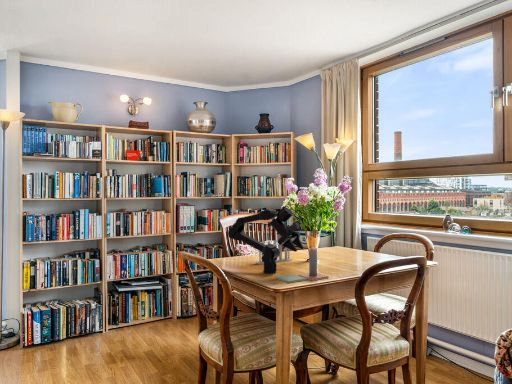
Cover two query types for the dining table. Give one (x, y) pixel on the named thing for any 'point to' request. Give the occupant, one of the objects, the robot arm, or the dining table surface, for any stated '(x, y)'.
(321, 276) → the terracotta tile
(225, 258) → the dining table surface
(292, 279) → the sage tile
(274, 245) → the test tube rack
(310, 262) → the tube
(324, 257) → the dining table surface
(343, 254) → the dining table surface
